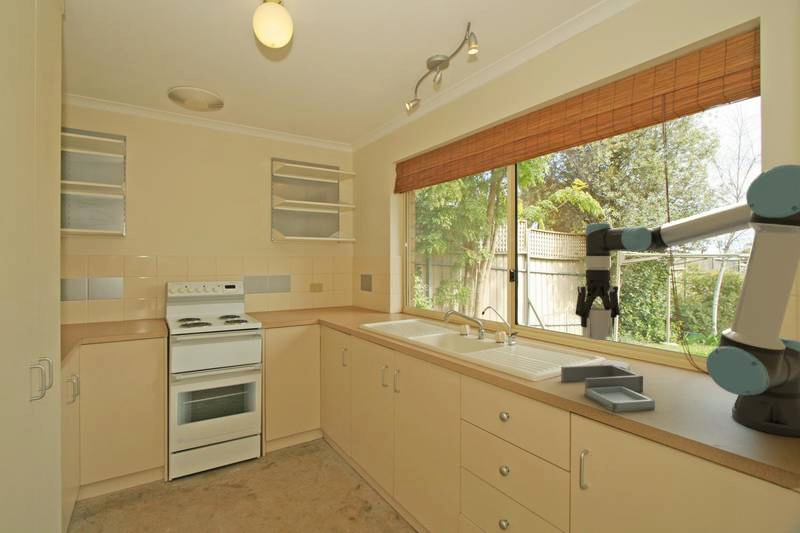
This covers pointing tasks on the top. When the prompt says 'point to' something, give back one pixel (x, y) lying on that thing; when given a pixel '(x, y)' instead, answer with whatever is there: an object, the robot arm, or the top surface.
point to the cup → (599, 323)
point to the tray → (619, 399)
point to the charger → (617, 364)
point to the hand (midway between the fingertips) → (597, 336)
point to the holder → (603, 376)
